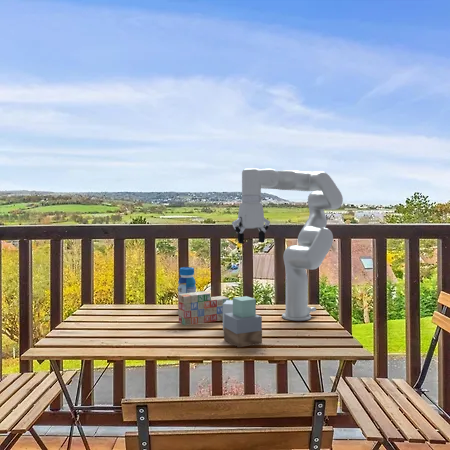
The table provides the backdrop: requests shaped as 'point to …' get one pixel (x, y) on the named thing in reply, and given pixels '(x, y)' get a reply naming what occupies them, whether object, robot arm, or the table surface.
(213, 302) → the stack of blocks
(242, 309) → the green cube
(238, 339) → the walnut block
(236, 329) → the grey block
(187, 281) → the beverage bottle
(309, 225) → the robot arm
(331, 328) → the table surface
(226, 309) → the small box
